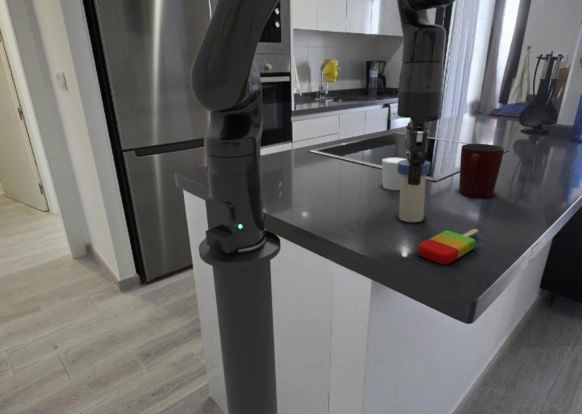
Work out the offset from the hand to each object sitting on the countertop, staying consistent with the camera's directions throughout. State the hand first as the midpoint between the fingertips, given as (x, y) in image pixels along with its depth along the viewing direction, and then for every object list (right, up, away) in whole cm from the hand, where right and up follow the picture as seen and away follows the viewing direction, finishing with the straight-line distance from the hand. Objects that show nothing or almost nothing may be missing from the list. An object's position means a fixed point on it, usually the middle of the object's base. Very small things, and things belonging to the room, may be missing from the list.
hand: (412, 179), depth 74 cm
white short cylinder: (+2, 0, +23) cm, 23 cm away
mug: (+19, -3, +16) cm, 25 cm away
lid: (0, +3, -1) cm, 3 cm away
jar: (0, -8, +2) cm, 8 cm away
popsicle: (+4, -12, -10) cm, 16 cm away
